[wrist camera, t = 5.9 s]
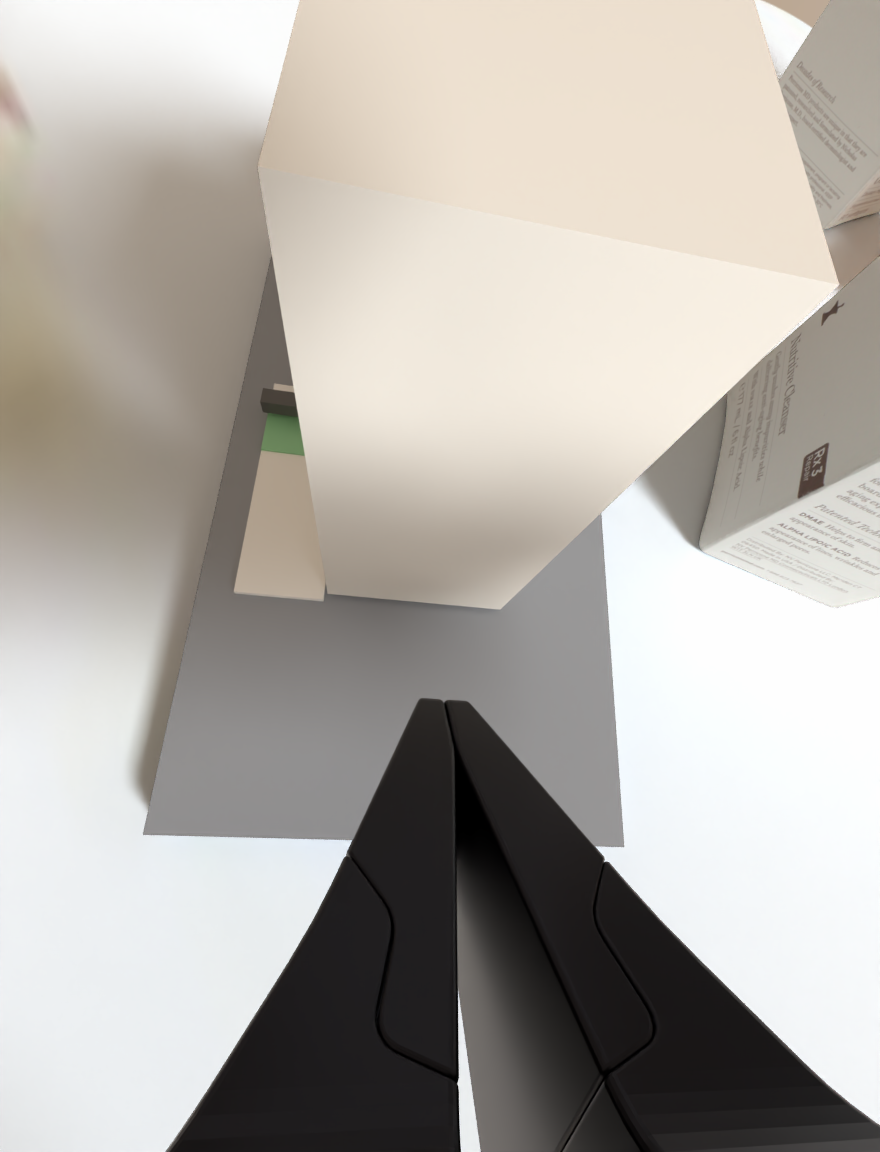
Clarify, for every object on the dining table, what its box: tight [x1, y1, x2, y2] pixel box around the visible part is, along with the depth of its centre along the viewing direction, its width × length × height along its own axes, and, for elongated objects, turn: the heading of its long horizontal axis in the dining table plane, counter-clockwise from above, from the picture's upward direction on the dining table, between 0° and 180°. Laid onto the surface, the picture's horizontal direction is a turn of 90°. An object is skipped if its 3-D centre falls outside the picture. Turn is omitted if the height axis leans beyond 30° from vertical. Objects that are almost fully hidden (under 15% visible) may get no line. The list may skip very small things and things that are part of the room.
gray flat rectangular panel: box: [143, 256, 624, 847], centre depth 16 cm, size 21×12×1 cm, turn 176°
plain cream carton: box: [257, 0, 839, 610], centre depth 11 cm, size 10×8×11 cm
